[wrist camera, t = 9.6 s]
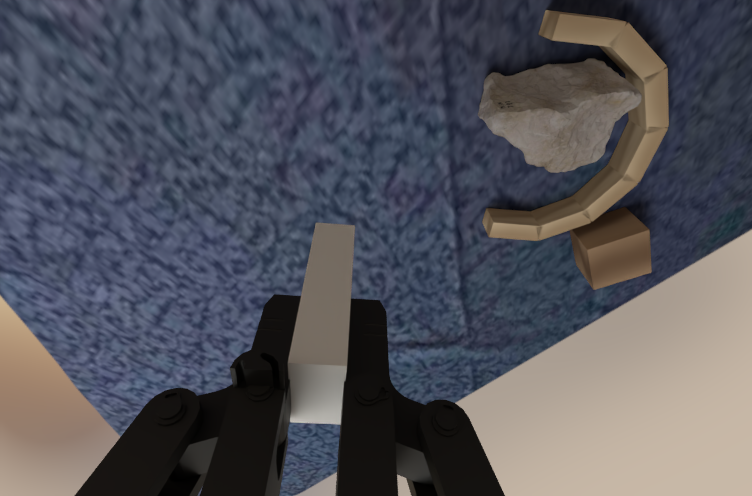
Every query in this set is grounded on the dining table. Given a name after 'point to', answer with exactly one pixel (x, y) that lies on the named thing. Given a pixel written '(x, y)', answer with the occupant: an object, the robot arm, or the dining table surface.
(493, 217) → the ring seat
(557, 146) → the stone
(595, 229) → the walnut block
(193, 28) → the dining table surface
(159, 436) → the robot arm
